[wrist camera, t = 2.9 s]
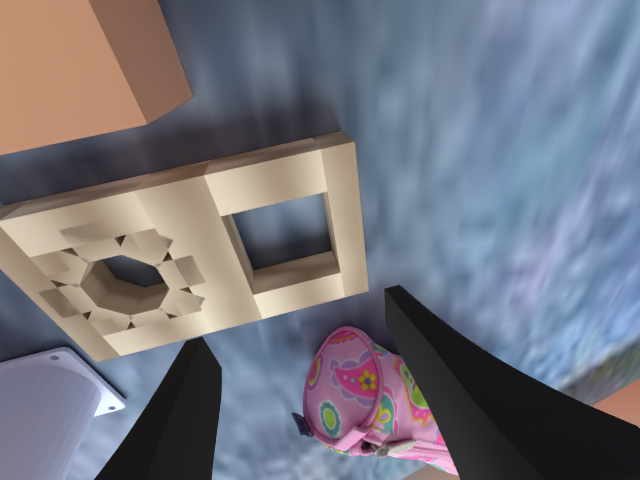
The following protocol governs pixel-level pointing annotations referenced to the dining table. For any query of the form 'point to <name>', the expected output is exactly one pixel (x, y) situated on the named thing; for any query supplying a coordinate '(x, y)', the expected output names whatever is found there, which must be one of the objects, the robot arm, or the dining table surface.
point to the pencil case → (368, 403)
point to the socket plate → (184, 247)
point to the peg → (84, 69)
